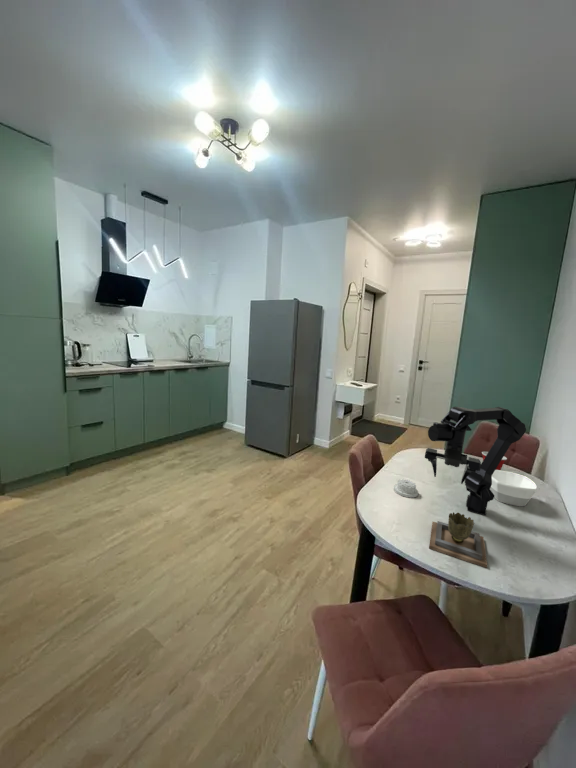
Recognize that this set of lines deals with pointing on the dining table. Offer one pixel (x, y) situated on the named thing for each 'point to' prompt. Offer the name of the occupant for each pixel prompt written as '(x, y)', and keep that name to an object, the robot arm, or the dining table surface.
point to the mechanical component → (406, 488)
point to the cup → (459, 527)
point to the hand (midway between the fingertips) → (448, 480)
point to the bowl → (512, 488)
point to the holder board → (458, 545)
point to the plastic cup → (499, 463)
